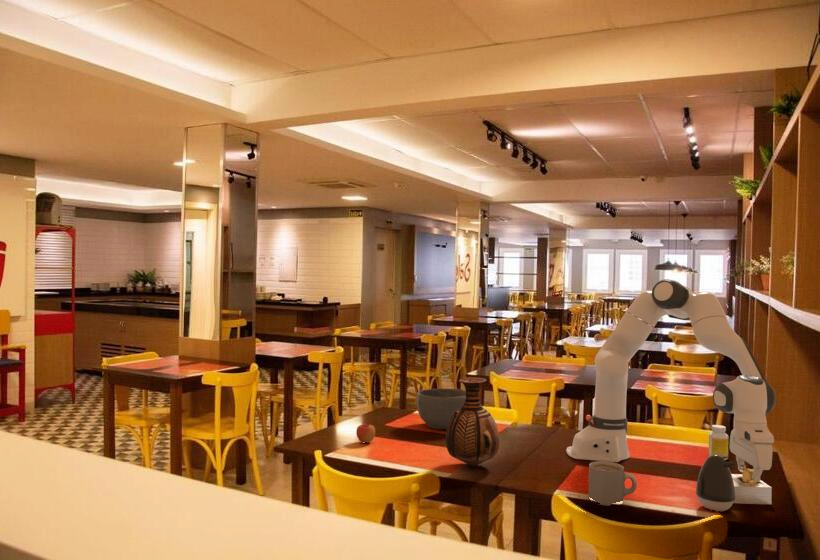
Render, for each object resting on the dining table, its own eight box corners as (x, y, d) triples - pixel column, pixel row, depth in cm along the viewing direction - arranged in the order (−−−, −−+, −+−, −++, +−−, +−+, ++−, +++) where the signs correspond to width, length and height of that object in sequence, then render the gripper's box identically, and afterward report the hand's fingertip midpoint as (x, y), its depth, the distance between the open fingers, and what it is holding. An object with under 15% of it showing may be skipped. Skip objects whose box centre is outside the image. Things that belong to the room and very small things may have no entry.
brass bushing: (745, 499, 197) (746, 472, 197) (739, 494, 201) (740, 468, 201) (759, 499, 197) (759, 472, 197) (752, 494, 201) (753, 468, 201)
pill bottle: (730, 461, 237) (730, 429, 237) (710, 460, 238) (711, 427, 238) (725, 456, 243) (726, 424, 243) (706, 455, 244) (707, 423, 244)
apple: (378, 443, 255) (379, 423, 255) (362, 446, 251) (362, 425, 251) (369, 439, 261) (369, 419, 261) (352, 442, 257) (353, 421, 257)
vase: (507, 475, 218) (508, 384, 217) (453, 477, 215) (454, 385, 214) (488, 456, 239) (489, 373, 238) (439, 458, 236) (440, 374, 235)
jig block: (722, 502, 194) (722, 485, 194) (706, 489, 206) (706, 473, 206) (771, 504, 193) (771, 487, 193) (752, 490, 205) (752, 474, 205)
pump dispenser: (729, 517, 182) (730, 462, 182) (690, 508, 189) (691, 455, 189) (740, 508, 190) (741, 455, 189) (702, 499, 196) (703, 448, 196)
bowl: (412, 420, 294) (412, 387, 294) (466, 420, 297) (466, 386, 297) (419, 434, 270) (419, 398, 270) (477, 433, 272) (478, 397, 272)
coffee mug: (586, 502, 193) (586, 468, 193) (591, 492, 202) (591, 459, 202) (634, 509, 187) (635, 474, 187) (637, 498, 196) (638, 465, 196)
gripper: (724, 421, 209) (723, 465, 210) (754, 438, 189) (753, 486, 189) (745, 422, 209) (744, 466, 209) (777, 439, 189) (775, 487, 189)
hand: (748, 475), depth 199 cm, fingers open, 8 cm apart
